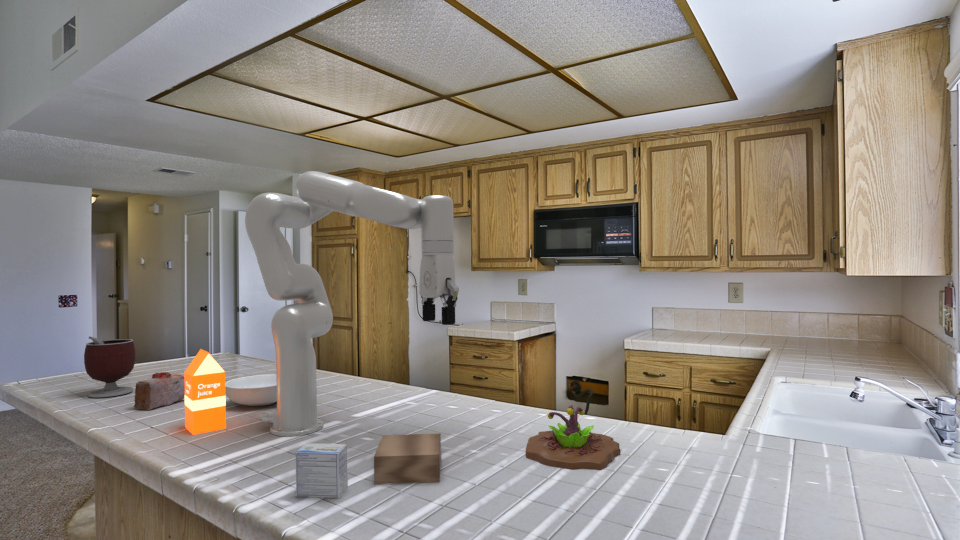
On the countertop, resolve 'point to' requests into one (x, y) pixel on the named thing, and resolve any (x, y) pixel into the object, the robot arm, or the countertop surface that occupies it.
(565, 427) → the plant
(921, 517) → the countertop surface
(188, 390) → the orange juice
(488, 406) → the countertop surface
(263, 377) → the serving bowl
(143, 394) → the food item
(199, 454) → the countertop surface
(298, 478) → the medicine box
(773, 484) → the countertop surface
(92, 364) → the mate gourd
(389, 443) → the walnut block
